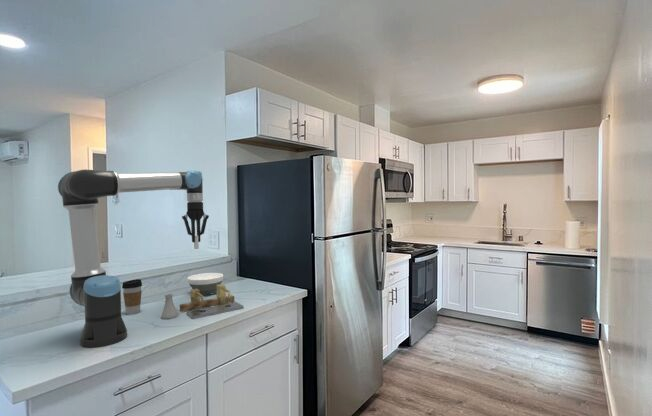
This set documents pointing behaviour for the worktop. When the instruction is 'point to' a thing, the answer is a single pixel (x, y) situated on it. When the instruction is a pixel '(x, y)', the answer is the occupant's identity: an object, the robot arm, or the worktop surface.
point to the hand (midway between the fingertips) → (196, 248)
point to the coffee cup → (132, 296)
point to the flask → (169, 308)
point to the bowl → (205, 282)
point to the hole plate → (214, 310)
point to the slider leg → (222, 293)
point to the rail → (202, 301)
